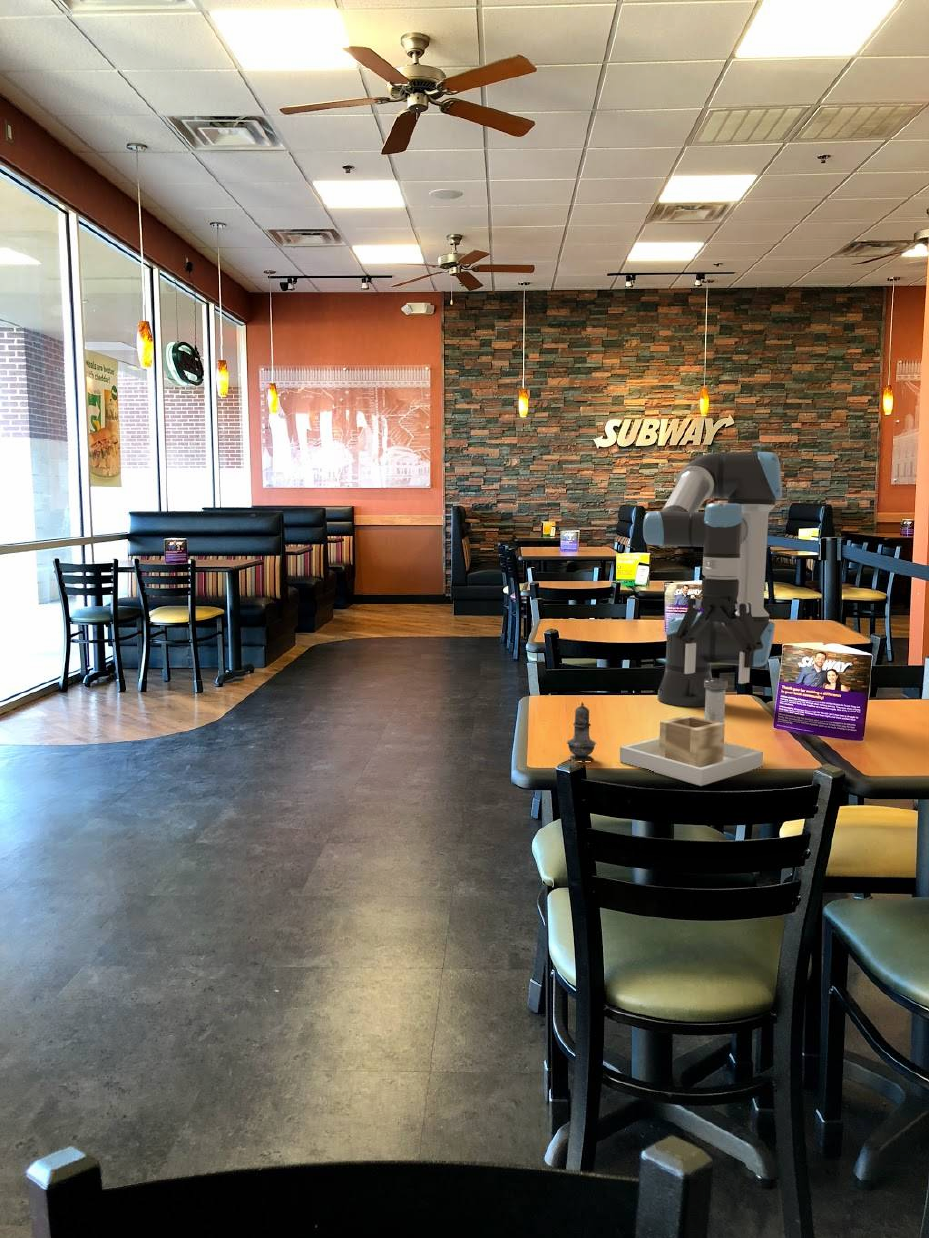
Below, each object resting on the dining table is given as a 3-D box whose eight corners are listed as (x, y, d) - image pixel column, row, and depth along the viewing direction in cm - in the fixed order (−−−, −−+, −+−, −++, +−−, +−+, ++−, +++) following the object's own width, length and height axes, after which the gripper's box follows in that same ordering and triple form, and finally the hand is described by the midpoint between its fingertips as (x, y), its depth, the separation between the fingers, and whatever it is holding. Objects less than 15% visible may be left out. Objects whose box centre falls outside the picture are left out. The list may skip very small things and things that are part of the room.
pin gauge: (710, 745, 202) (713, 677, 201) (729, 749, 199) (732, 680, 197) (696, 748, 199) (699, 679, 198) (715, 753, 196) (718, 683, 194)
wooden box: (686, 752, 194) (688, 715, 193) (723, 762, 187) (724, 723, 186) (658, 760, 189) (660, 721, 187) (695, 770, 182) (696, 730, 181)
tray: (681, 745, 202) (682, 731, 201) (762, 766, 186) (763, 751, 186) (619, 761, 189) (620, 746, 189) (700, 785, 174) (701, 769, 174)
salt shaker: (575, 764, 187) (577, 706, 185) (561, 757, 192) (562, 700, 191) (601, 761, 189) (602, 704, 188) (586, 754, 195) (587, 698, 193)
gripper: (661, 574, 201) (657, 671, 204) (762, 582, 182) (757, 689, 185) (683, 573, 206) (679, 667, 209) (784, 581, 187) (778, 685, 189)
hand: (715, 677), depth 197 cm, fingers open, 13 cm apart
